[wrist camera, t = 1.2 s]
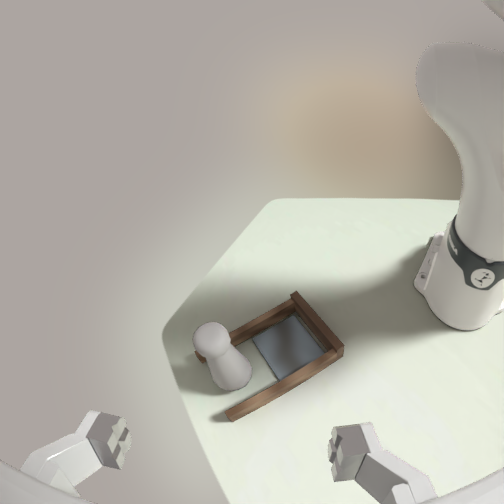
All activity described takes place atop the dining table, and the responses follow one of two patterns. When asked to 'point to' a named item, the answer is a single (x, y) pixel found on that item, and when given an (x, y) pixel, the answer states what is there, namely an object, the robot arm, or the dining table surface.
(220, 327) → the salt shaker
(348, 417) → the dining table surface
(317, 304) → the dining table surface
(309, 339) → the bay
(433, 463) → the dining table surface
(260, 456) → the dining table surface
